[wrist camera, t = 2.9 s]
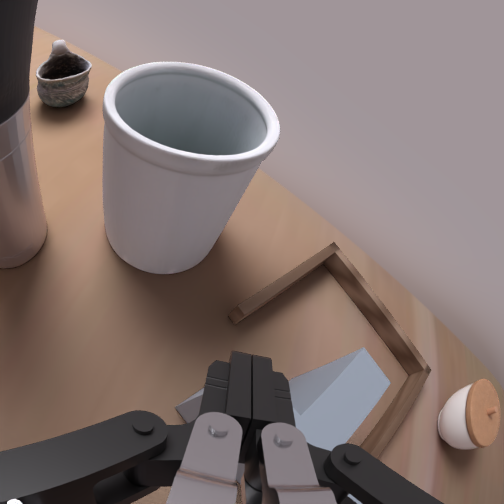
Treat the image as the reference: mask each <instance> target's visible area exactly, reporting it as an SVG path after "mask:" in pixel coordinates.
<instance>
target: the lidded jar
mask: <svg viewBox="0 0 504 504" xmlns="http://www.w3.org/2000/svg"><path fill="white" fill-rule="evenodd" d="M499 425H500V404H499V399H498V395H497V392H496V390H495V388H494V386H493V385H492V384H491V382H489V381H488V380H486V379H480V380H478V381H476V382H474V383H472V384H470V385H467V386H465V387H464V388H462V389H460V390H458V391H457V392H455V393H454V394H453V395H452V396H451V397H450V398H449V399H448V400H447V402H446V403H445V405H444V407H443V408H442V410H441V411H440V413H439V416H438V432H439V435H440V437H441V438H442V439H443V440H444V441H446V442H447V443H448V444H449V445H450V446H452V447H454V448H457V449H475V448H482V447H487V446H489V445H490V444H491V443H492V442H493V441H494V439H495V438H496V436H497V433H498V429H499Z"/></svg>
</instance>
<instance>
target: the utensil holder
mask: <svg viewBox="0 0 504 504" xmlns="http://www.w3.org/2000/svg"><path fill="white" fill-rule="evenodd" d="M103 117H104V121H105V125H104V138H103V209H104V222H105V230H106V234H107V238H108V240H109V242H110V244H111V246H112V248H113V249H114V251H115V252H116V253H117V254H118V255H119V256H120V257H121V258H122V259H123V260H124V261H126V262H127V263H128V264H130V265H132V266H134V267H136V268H138V269H140V270H143V271H146V272H150V273H155V274H173V273H178V272H182V271H185V270H188V269H190V268H192V267H194V266H195V265H197V264H198V263H199V262H201V261H202V260H203V259H204V258H205V257H206V255H207V254H208V253H209V251H210V250H211V248H212V247H213V245H214V244H215V242H216V240H217V239H218V237H219V235H220V234H221V232H222V231H223V229H224V227H225V225H226V224H227V222H228V220H229V218H230V216H231V215H232V213H233V211H234V210H235V208H236V206H237V204H238V203H239V201H240V199H241V197H242V195H243V194H244V192H245V190H246V188H247V187H248V185H249V183H250V181H251V180H252V178H253V176H254V174H255V173H256V171H257V169H258V168H259V166H260V164H261V162H262V161H264V160H265V159H266V158H267V157H268V155H269V154H270V153H271V152H272V150H273V149H274V147H275V146H276V144H277V142H278V139H279V136H280V124H279V120H278V118H277V115H276V113H275V112H274V110H273V109H272V107H271V106H270V105H269V103H268V102H267V101H266V100H265V99H264V98H263V97H262V96H261V95H260V94H259V93H258V92H256V91H255V90H254V89H253V88H251V87H250V86H248V85H247V84H245V83H244V82H242V81H240V80H238V79H236V78H234V77H232V76H230V75H228V74H226V73H223V72H221V71H218V70H215V69H212V68H209V67H205V66H201V65H195V64H190V63H182V62H154V63H148V64H143V65H139V66H135V67H132V68H130V69H128V70H126V71H124V72H122V73H120V74H119V75H118V76H116V77H115V78H114V79H113V80H112V81H111V82H110V83H109V85H108V87H107V88H106V91H105V94H104V99H103Z"/></svg>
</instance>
